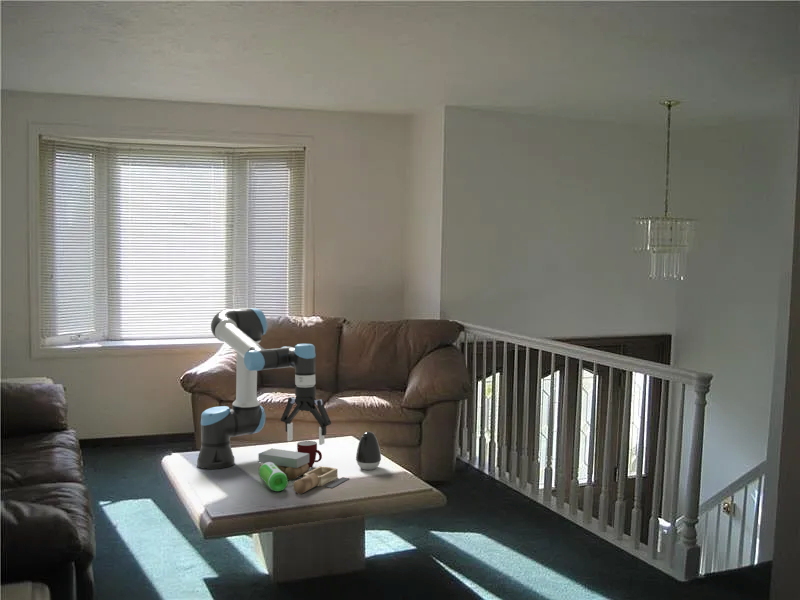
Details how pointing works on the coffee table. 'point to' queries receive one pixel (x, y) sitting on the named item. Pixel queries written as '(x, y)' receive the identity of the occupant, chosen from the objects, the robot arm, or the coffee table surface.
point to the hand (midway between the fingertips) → (305, 442)
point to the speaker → (273, 476)
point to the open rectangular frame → (324, 474)
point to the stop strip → (337, 482)
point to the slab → (284, 458)
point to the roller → (306, 483)
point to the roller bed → (293, 471)
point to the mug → (309, 451)
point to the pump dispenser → (368, 452)
